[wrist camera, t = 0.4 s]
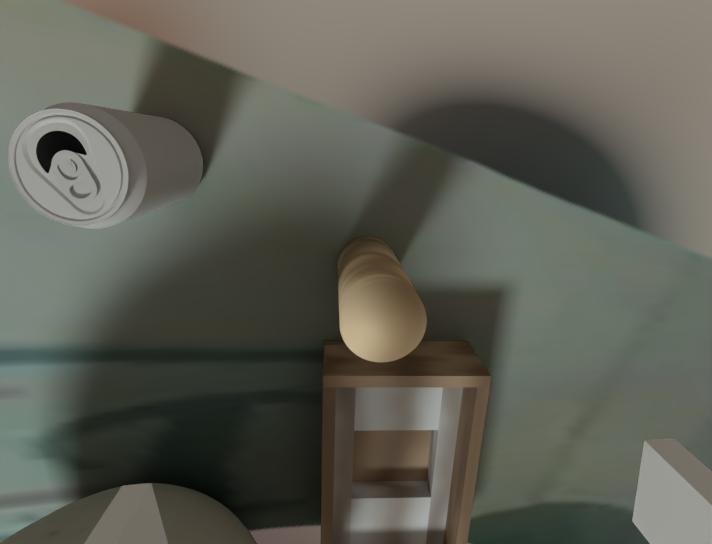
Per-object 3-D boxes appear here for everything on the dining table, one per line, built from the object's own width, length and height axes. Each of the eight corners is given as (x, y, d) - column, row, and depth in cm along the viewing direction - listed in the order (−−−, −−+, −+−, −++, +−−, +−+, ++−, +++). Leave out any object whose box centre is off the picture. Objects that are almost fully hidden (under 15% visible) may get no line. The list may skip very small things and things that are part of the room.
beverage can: (179, 102, 30) (85, 74, 19) (221, 183, 32) (160, 203, 21) (104, 138, 31) (-33, 132, 19) (150, 216, 33) (51, 253, 21)
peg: (336, 292, 35) (338, 362, 24) (338, 235, 34) (340, 280, 22) (394, 293, 36) (423, 362, 24) (397, 237, 34) (430, 282, 23)
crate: (321, 530, 43) (320, 589, 37) (324, 340, 36) (322, 375, 31) (443, 528, 44) (460, 585, 38) (467, 341, 37) (491, 376, 32)
